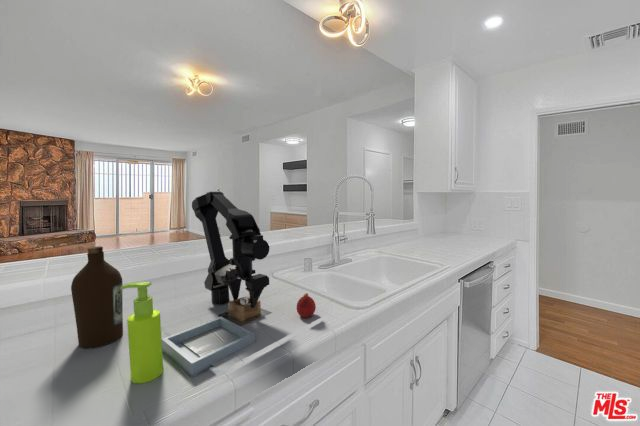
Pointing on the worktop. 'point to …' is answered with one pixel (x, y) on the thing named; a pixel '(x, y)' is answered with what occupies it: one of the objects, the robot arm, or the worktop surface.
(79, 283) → the olive oil
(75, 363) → the worktop surface
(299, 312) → the onion
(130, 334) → the soap dispenser
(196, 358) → the light blue frame
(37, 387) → the worktop surface
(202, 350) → the worktop surface
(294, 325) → the worktop surface
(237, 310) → the open wooden box frame
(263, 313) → the stake base
